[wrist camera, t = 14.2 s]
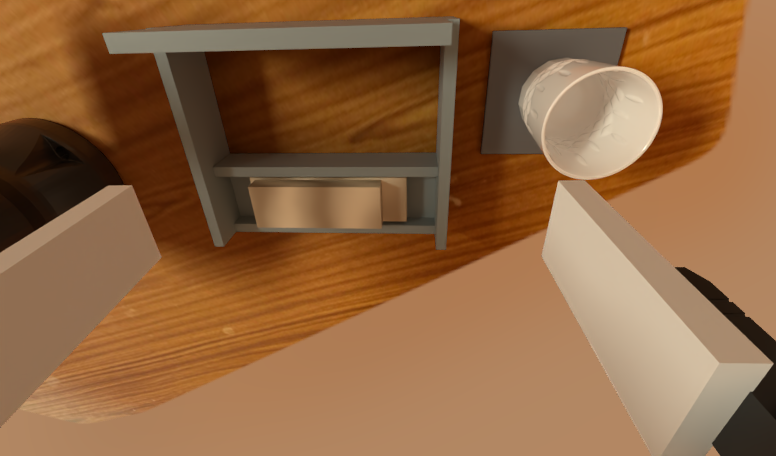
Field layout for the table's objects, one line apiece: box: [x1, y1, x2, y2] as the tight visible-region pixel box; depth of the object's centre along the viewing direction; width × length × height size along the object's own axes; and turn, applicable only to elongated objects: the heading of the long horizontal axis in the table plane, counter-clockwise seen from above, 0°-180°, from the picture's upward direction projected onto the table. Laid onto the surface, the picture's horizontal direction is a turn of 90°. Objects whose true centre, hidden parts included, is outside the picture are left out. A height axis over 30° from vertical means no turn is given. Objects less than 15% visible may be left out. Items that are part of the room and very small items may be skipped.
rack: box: [102, 17, 460, 250], centre depth 33 cm, size 24×20×12 cm
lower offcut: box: [250, 177, 407, 221], centre depth 40 cm, size 16×5×2 cm, turn 92°
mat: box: [481, 27, 627, 154], centre depth 35 cm, size 11×11×1 cm
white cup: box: [518, 58, 663, 180], centre depth 30 cm, size 8×8×10 cm
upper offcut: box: [248, 180, 383, 229], centre depth 38 cm, size 13×5×2 cm, turn 92°
